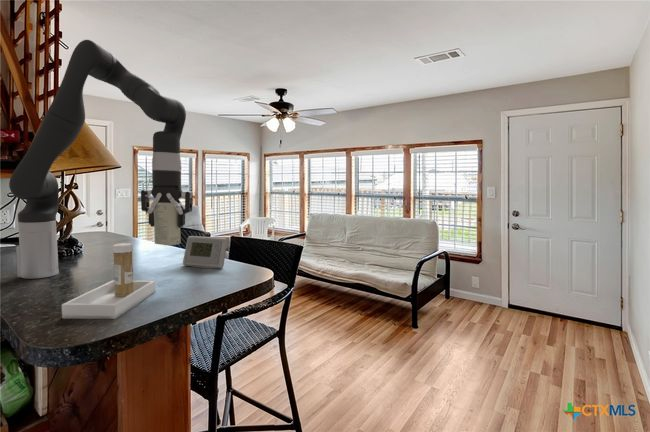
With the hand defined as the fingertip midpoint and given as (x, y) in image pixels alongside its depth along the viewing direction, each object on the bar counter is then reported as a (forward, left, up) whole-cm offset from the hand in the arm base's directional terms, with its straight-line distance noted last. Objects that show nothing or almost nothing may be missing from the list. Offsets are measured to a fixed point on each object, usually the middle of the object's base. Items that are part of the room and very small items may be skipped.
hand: (167, 226), depth 103 cm
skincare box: (0, 0, -5) cm, 5 cm away
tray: (-7, -16, -17) cm, 24 cm away
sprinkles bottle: (-7, -11, -17) cm, 21 cm away
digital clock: (+3, +25, -18) cm, 30 cm away
